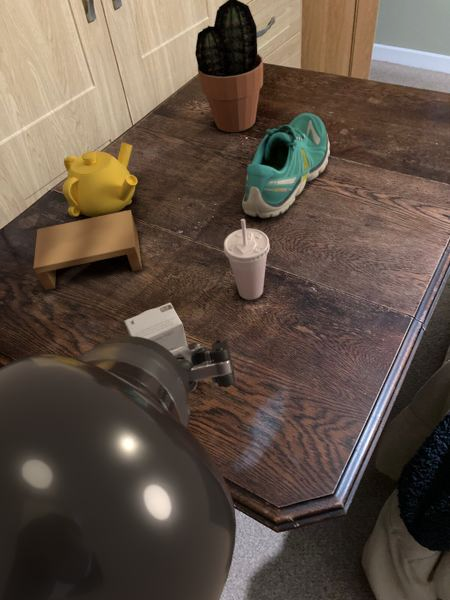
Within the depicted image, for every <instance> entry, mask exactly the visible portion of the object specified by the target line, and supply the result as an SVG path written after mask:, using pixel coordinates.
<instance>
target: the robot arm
mask: <svg viewBox="0 0 450 600" xmlns="http://www.w3.org/2000/svg"><path fill="white" fill-rule="evenodd" d="M187 345H188V346H179V347H172V348H170V349H166V348H165V347H163V346H162V345H160V344H158V343H156V342H154V341H152V340H149V339H146V338H142V337H136V336H129V335H127V336H126V335H124V336H117V337H113V338H110V339H107V340H104V341H101V343H99V344H97V345H95V346H93V347H92V348H90V349H88V350H86V351H85V352H83V353H82V354H80V355H78V356H77V357H73V356H70V355H65V354H61V353H55V352H54V353H53V352H42V353H41V352H40V353H33V354H28V355H25V356H23V357H19V358H16V359H14V360H12V361H11V362H9V363H7V364H5V365H3V366H1V367H0V600H221V598H222V595H223V592H224V589H225V587H226V584H227V582H228V577H229V573H230V570H231V567H232V562H233V559H234V552H235V546H236V537H237V517H236V507H235V503H234V500H233V497H232V494H231V491H230V489H229V486H228V484H227V482H226V480H225V478H224V476H223V474H222V472H221V471H220V468H219V467H218V465H217V464H216V462H215V461H214V459H213V458H212V456H211V455H210V454H209V452H208V451H207V449H206V448H205V447H204V446H203V444H202V443H201V442H200V440H198V438H197V437H196V436H195V435H194V434H193V433H192V432H191V431H190V430H189V429H188V427H189V423H190V421H191V407H190V403H189V399H190V398H189V397H190V393H191V392H193V391H195V390H196V389H197V387H198V382H199V381H203V380H204V381H205V380H208V379H210V381H211V384H212V385H214V386H215V385H217V386H218V388H230V387H231V386H233V385H234V384H236V378H235V377H236V376H235V370H234V365H233V360H232V356H231V352H230V348H229V343H228V340H225V339H217V340H215V342H212V343H211V348H210V349H207V348H206V345H205V344H200V343H197V342H192V343H189V344H188V343H187Z"/></svg>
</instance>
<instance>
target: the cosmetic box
mask: <svg viewBox="0 0 450 600" xmlns="http://www.w3.org/2000/svg"><path fill="white" fill-rule="evenodd" d="M123 322H124V325H125V327H126V330H127V333H128V336H136V337H142V338H146V339H149V340H152V341H154V342H156V343H158V344H160V345H162V346H163V347H165V348H166V349H170V348H172V347H179V346H188V342H187V338H186V332H185V328H184V324H183V322H182V320H181V319H180V316H179V315H178V314H177V312H176V310H175V308H174V305H172V303H171V302H168V303H165V304H163V305H161V306H160V305H159V306H157V307H154V308H151V309H147V310H145V311H143V312H141V313H140V314H137V315H135V316H133V317H129V318H128V319H125V320H124V321H123Z"/></svg>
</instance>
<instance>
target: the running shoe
mask: <svg viewBox="0 0 450 600" xmlns="http://www.w3.org/2000/svg"><path fill="white" fill-rule="evenodd" d="M265 133H266V134H265V136H264V137H263V138H262V140H261V142H259V144H258V146H257V148H256V152H255V155H254V157H253V159H252V161H251V163H249V164H248V165H247V168H246V180H245V189H244V190H245V193H244V196H243V199H242V202H241V207H242V210H243V212H244V213H245V214H246V215H248V216H250V217H251V218H256V217H259V218H261V219H263V220H264V219H269V218H272V219H273V218H277V217H278V216H279V215H283V214H284V213H285V212H287V211H288V209H290V208H291V207H292V204H294V203H295V201H296V197H297V196H299V195H300V194H301V193H302V192H303V190H304V188H305V186H306V183H309V182H310V181H313V180H314V179H316V178H317V177H318V176H319V174H321V173H323V172H324V171H325V169H326V167H327V165H328V163H329V157H330V154H331V149H330V145H331V144H330V141H329V135H328V132H327V129H326V127H325V124H324V122H323V121H322V119H321V118H320V117H319V116H318V115H316V114H314V113H310V112H303V113H300V114H298V115H297V116H295V117H294V118H293V119H292V120H291V121H290V122H289V123H288V124H282V125H281V126H279V127H278V128H272V129H270V128H267V129H266V131H265Z"/></svg>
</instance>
